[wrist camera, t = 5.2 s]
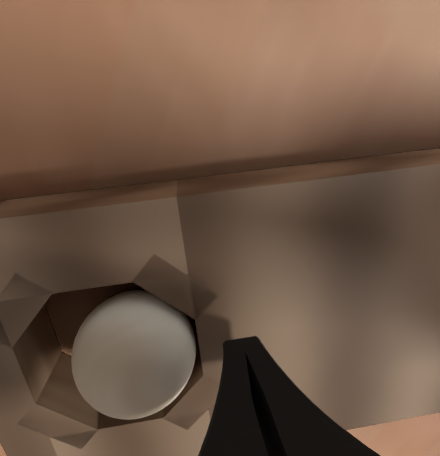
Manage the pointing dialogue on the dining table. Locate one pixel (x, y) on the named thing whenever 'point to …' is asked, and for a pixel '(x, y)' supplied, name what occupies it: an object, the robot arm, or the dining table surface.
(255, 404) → the robot arm
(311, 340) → the walnut board
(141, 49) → the dining table surface
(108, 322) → the off-white ball
